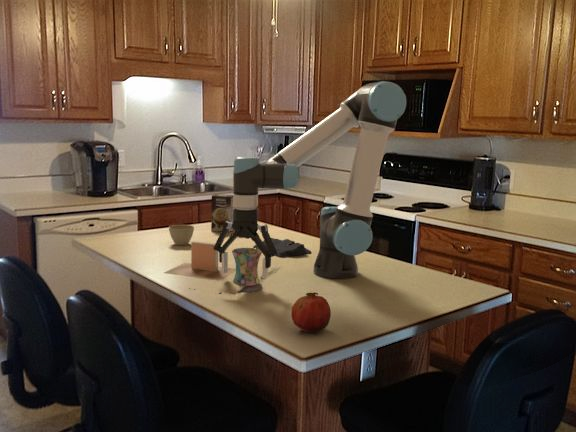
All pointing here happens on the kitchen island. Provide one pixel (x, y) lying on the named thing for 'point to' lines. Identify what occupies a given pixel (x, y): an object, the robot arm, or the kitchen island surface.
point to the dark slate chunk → (287, 248)
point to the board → (199, 272)
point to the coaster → (251, 288)
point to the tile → (204, 256)
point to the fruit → (311, 313)
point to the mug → (246, 266)
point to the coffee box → (221, 211)
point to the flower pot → (181, 233)
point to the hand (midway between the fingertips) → (244, 275)
